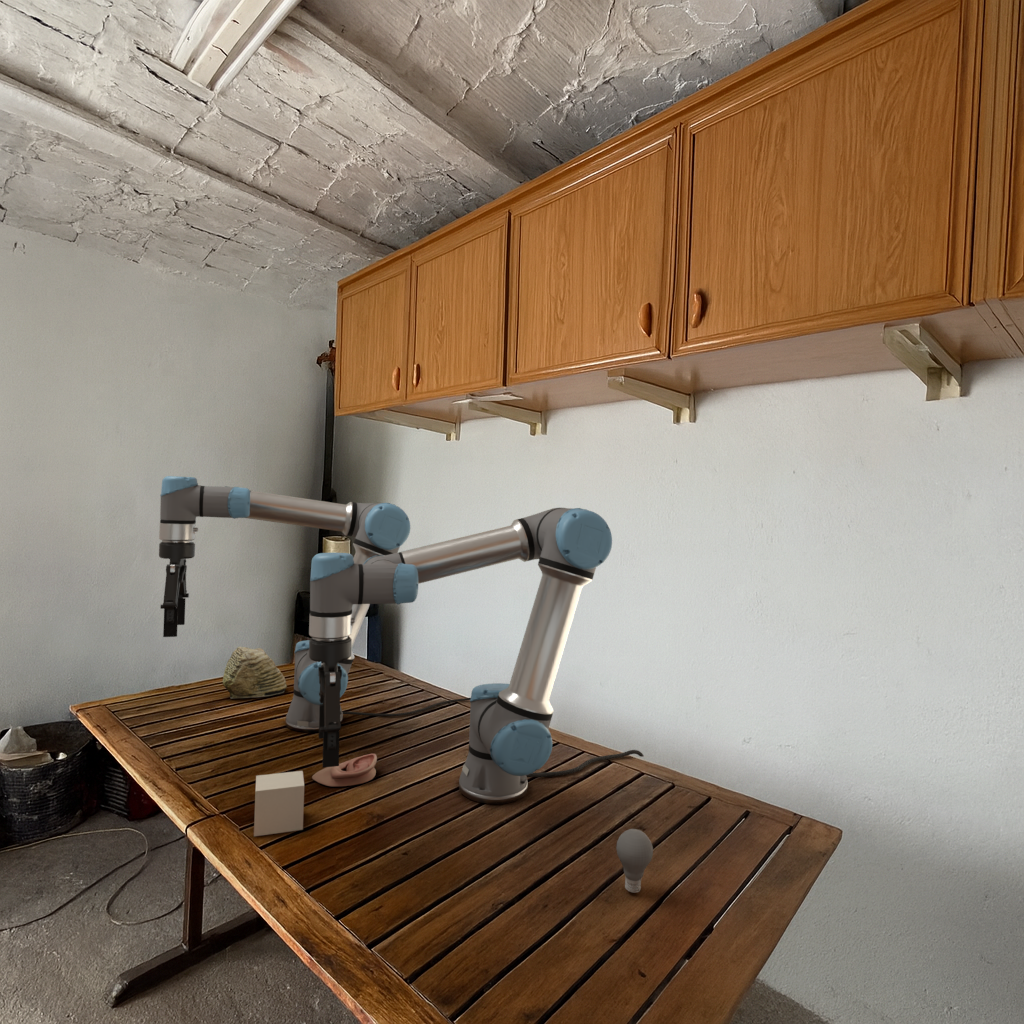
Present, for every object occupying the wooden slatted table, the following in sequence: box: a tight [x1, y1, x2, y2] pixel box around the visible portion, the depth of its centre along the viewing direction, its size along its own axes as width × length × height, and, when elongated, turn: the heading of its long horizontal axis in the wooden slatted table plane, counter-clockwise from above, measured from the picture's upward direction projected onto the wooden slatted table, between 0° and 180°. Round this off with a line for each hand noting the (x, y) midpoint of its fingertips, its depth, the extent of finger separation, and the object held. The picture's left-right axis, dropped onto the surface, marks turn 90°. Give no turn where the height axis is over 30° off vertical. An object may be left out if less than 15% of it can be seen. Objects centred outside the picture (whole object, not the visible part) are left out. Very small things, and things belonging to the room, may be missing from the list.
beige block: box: [253, 770, 305, 837], centre depth 122 cm, size 9×7×8 cm
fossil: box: [222, 646, 288, 699], centre depth 198 cm, size 9×18×15 cm, turn 132°
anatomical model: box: [311, 753, 378, 788], centre depth 144 cm, size 13×4×12 cm
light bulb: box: [615, 828, 654, 894], centre depth 106 cm, size 6×6×10 cm
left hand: (174, 630), depth 151 cm, fingers open, 13 cm apart
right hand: (328, 751), depth 117 cm, fingers open, 13 cm apart
